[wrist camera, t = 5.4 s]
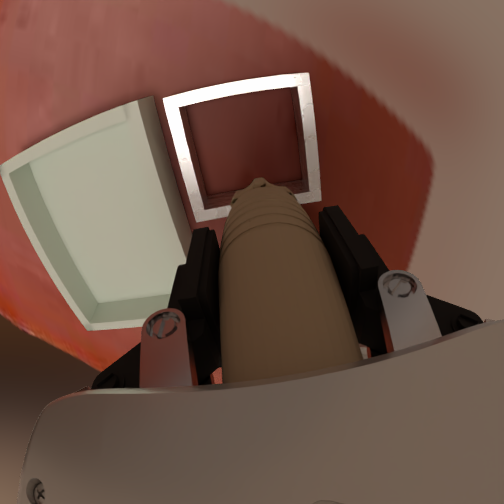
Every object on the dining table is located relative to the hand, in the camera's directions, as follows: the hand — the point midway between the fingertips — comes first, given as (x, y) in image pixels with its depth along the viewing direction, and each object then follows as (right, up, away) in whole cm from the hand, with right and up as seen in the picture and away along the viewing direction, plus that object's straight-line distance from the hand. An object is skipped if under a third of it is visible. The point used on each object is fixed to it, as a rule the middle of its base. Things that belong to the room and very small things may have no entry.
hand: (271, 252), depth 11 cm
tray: (-15, +3, +16) cm, 23 cm away
